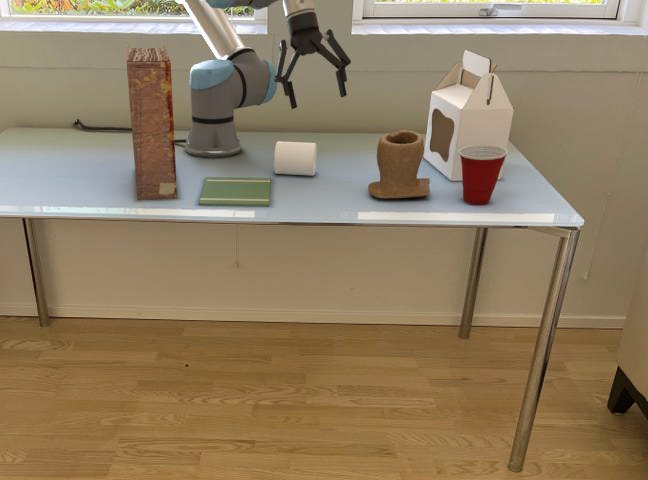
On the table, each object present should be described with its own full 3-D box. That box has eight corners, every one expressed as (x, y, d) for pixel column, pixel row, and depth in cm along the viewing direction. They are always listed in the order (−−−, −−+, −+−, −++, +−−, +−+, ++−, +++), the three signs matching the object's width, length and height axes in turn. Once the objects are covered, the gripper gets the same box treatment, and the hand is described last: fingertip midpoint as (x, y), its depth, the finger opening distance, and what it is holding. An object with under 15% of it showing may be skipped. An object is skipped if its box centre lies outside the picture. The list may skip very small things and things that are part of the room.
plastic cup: (445, 194, 172) (452, 143, 166) (489, 193, 173) (497, 142, 167) (459, 209, 163) (468, 156, 157) (506, 208, 164) (516, 155, 158)
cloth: (198, 205, 165) (198, 202, 165) (207, 178, 182) (206, 176, 182) (269, 206, 164) (269, 204, 164) (270, 179, 182) (270, 177, 181)
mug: (312, 179, 182) (314, 147, 178) (273, 177, 183) (274, 145, 179) (317, 166, 192) (318, 135, 188) (279, 164, 194) (280, 134, 189)
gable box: (501, 180, 182) (523, 61, 168) (451, 181, 181) (468, 62, 167) (468, 156, 201) (485, 47, 187) (422, 157, 200) (436, 48, 186)
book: (136, 169, 189) (126, 45, 173) (172, 168, 190) (165, 44, 174) (137, 201, 167) (126, 62, 152) (177, 199, 168) (170, 61, 153)
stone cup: (374, 205, 165) (380, 138, 158) (364, 189, 175) (369, 126, 168) (439, 204, 166) (448, 138, 158) (425, 188, 176) (433, 125, 169)
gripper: (256, 21, 176) (277, 111, 181) (352, 1, 180) (369, 89, 185) (250, 29, 183) (270, 115, 188) (342, 9, 187) (359, 93, 192)
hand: (319, 102), depth 187 cm, fingers open, 13 cm apart
